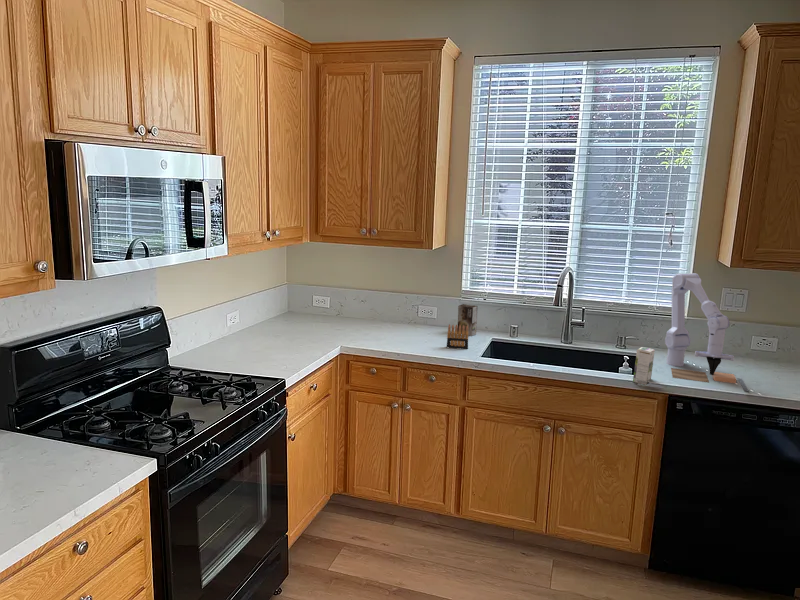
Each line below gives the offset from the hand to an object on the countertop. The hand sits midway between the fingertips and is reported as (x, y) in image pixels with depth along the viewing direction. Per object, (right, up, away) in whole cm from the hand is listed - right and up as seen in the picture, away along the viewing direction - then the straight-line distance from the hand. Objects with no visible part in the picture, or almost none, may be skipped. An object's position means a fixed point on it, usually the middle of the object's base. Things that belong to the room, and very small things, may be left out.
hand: (711, 374), depth 250 cm
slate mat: (+5, -4, -2) cm, 7 cm away
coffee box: (-97, +13, +71) cm, 121 cm away
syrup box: (-32, -3, -4) cm, 32 cm away
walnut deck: (-8, -2, +4) cm, 9 cm away
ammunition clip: (-105, +8, +42) cm, 114 cm away
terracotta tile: (+4, -3, -1) cm, 5 cm away
